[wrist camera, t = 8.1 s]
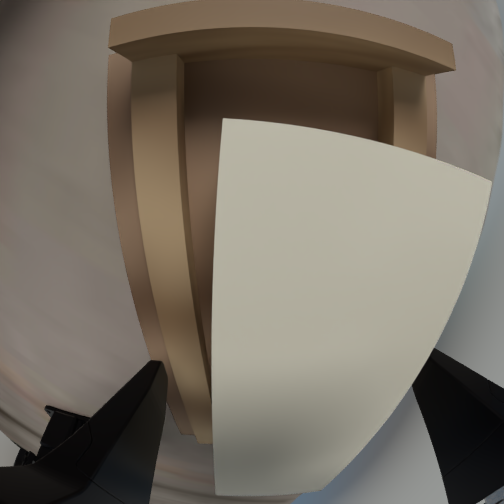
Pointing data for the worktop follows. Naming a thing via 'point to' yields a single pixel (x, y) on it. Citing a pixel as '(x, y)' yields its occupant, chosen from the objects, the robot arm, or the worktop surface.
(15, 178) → the worktop surface
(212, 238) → the rack
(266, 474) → the white rectangular block
